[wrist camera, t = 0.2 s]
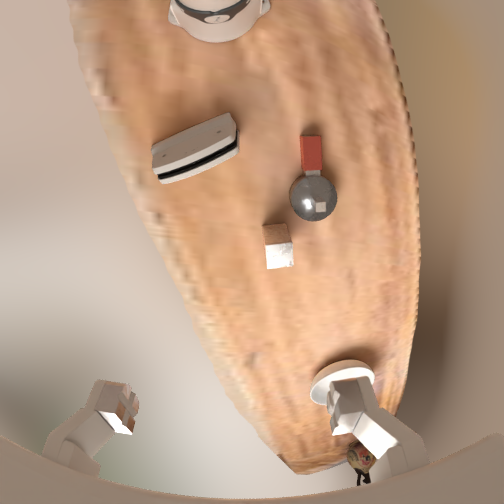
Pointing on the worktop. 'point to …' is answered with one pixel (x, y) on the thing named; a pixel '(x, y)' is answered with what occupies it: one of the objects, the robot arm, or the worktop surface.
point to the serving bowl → (337, 377)
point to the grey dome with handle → (312, 184)
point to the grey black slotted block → (195, 149)
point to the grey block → (277, 246)
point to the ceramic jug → (360, 460)
